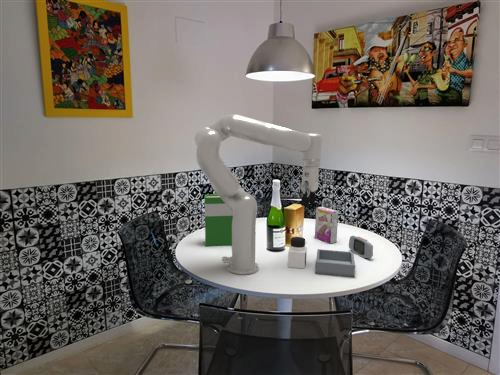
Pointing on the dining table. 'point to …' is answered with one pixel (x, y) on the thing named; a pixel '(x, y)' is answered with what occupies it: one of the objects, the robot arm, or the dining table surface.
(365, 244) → the handheld gaming console
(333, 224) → the candy bar box
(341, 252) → the walled bin
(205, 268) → the dining table surface
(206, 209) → the hardback book
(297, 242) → the medicine bottle
